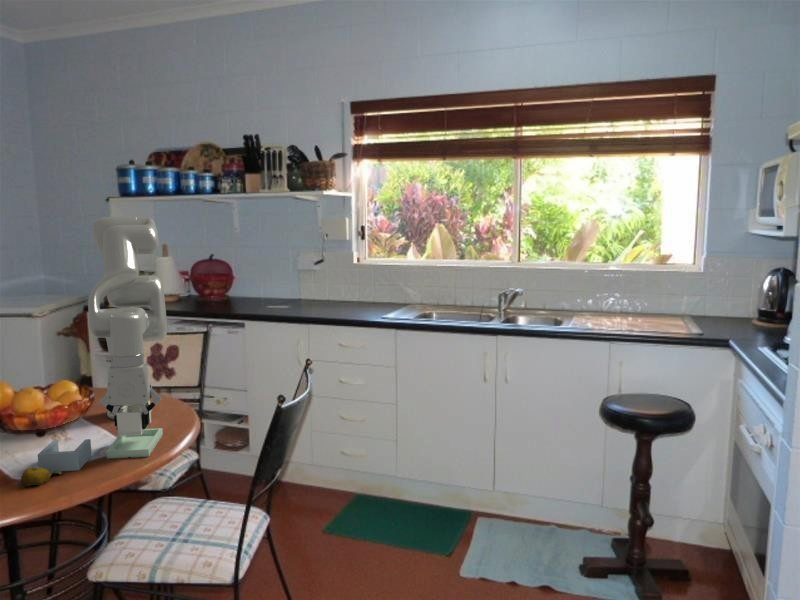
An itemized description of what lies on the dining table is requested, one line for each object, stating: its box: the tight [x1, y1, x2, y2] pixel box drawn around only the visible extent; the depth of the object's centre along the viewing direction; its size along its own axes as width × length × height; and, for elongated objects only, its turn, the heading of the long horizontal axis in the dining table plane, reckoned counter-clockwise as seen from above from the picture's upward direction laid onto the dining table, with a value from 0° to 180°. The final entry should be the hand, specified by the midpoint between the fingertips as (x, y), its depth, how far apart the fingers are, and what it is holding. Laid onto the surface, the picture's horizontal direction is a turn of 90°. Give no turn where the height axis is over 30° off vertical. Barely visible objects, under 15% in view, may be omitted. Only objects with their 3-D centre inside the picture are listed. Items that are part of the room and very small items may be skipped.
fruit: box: [20, 467, 62, 488], centre depth 142 cm, size 8×8×4 cm
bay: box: [37, 438, 93, 472], centre depth 150 cm, size 9×9×4 cm
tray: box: [105, 427, 164, 460], centre depth 162 cm, size 15×10×2 cm
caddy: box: [116, 399, 152, 437], centre depth 160 cm, size 10×6×9 cm, turn 8°
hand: (132, 427), depth 159 cm, fingers closed on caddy, 5 cm apart
